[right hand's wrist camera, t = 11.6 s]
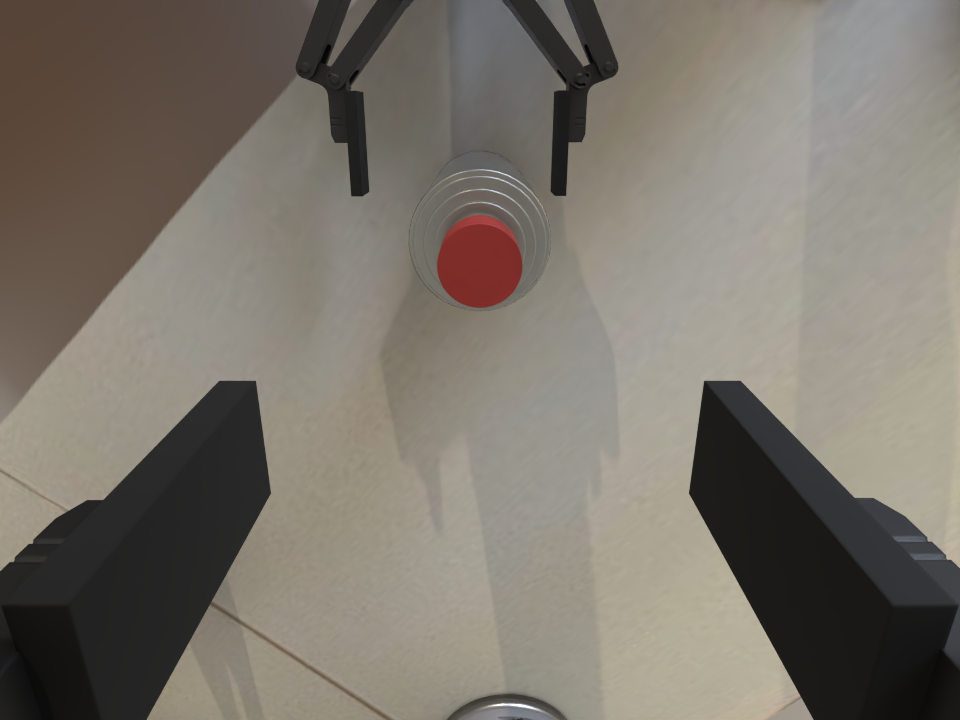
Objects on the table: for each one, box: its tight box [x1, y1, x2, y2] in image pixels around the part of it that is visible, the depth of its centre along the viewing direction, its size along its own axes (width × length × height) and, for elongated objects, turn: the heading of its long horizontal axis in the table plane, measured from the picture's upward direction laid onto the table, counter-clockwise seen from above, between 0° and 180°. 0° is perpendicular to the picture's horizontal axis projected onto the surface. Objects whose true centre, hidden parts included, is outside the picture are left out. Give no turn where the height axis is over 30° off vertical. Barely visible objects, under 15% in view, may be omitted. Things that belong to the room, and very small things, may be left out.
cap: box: [437, 215, 523, 308], centre depth 31 cm, size 4×4×3 cm
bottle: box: [409, 151, 551, 311], centre depth 40 cm, size 8×8×23 cm
